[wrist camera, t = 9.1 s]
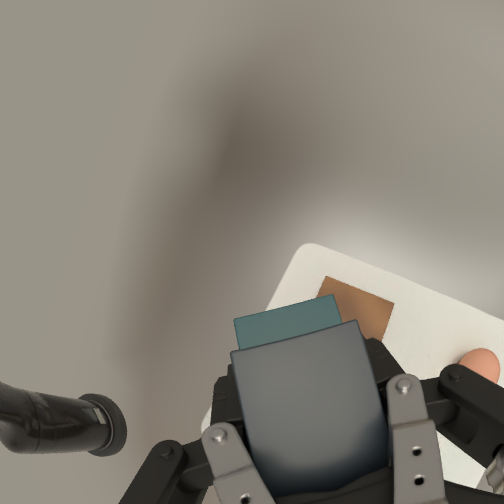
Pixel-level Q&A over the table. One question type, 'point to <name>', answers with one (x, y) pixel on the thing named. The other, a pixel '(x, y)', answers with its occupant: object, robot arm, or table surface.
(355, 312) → the mat
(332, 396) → the toy van
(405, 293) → the table surface
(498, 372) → the toy ball
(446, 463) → the table surface
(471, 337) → the table surface
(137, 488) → the robot arm
